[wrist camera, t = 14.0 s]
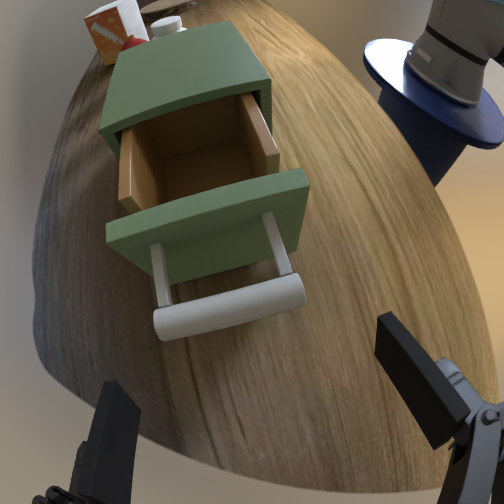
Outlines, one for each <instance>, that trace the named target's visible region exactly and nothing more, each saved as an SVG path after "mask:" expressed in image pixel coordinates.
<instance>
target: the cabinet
mask: <svg viewBox="0 0 504 504" xmlns="http://www.w3.org/2000/svg"><path fill="white" fill-rule="evenodd" d="M271 87H272V86H271V78H270V76H269V74H268V73H267V71H266V70H265V68H264V67H263V65H262V64H261V62H260V61H259V60H258V58H257V57H256V55H255V54H254V52H253V51H252V50H251V48H250V47H249V45H248V44H247V43H246V41H245V40H244V38H243V37H242V36H241V34H240V33H239V32H238V30H237V29H236V28H235V27H234V25H233V24H232V23H231V21H230V20H229V21H223V22H218V23H213V24H208V25H204V26H199V27H195V28H191V29H187V30H183V31H180V32H176V33H173V34H169V35H166V36H163V37H160V38H157V39H154V40H151V41H148V42H145V43H142V44H140V45H137V46H134V47H132V48H129V49H127V50H124V51H122V52H120V53H119V55H118V58H117V61H116V64H115V67H114V70H113V73H112V77H111V80H110V84H109V87H108V91H107V95H106V99H105V103H104V107H103V111H102V116H101V120H100V125H99V132H100V133H101V135H102V136H103V137H104V139H105V141H106V142H107V144H108V145H109V147H110V148H111V149H112V151H113V152H114V154H115V155H116V157H117V158H118V160H119V161H120V149H121V137H122V129H125V128H127V127H130V126H132V125H135V124H137V123H140V122H143V121H145V120H148V119H151V118H154V117H156V116H159V115H162V114H165V113H168V112H171V111H175V110H178V109H181V108H184V107H188V106H191V105H195V104H198V103H202V102H206V101H210V100H213V99H218V98H222V97H226V96H230V95H235V94H240V93H244V92H249V91H251V93H252V95H253V97H254V99H255V101H256V103H257V105H258V107H259V109H260V112H261V114H262V116H263V118H264V120H265V122H266V124H267V126H268V129H269V131H270V133H271V135H272V91H271ZM272 137H273V136H272Z"/></svg>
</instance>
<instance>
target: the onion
mask: <svg viewBox="0 0 504 504" xmlns="http://www.w3.org/2000/svg"><path fill="white" fill-rule="evenodd" d="M145 42H148V41H147V40H144V39H141V38H135V37H134V35H133V34H132V35H130V36H128V39H127V40H126V42H125V43H124V45H123V46H122V48H121V50H120V52H122V51H124V50H127V49H129V48H132V47H134V46H137V45H140V44H142V43H145Z"/></svg>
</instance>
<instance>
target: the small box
mask: <svg viewBox="0 0 504 504" xmlns="http://www.w3.org/2000/svg"><path fill="white" fill-rule="evenodd" d="M84 21H85V22H86V25H87V27H88V29H89V32H90V34H91V36H92V39H93V41H94V43H95V45H96V47H97V50H98V52H99V54H100V56H101V58H102V60H103V62H104V64H105V66H107V65H111V64H115V63H116V61H117V58H118V55H119V53H120V50H121V48H122V46H123V45H124V43H125V42H126V40H127V39H128V36H130V35H132V34H133V35H134V37H135V38H141V39H144V40H147V41H149V38H148V35H147V32H146V29H145V26H144V23H143V20H142V17H141V14H140V11H139V8H138V5H137V2H136V0H118V1H115V2H113V3H111V4H108V5H105V6H103V7H100V8H99V9H97V10H96V11H94V12H93V13H91V14H90V15H89V16H87V17H86V18H84Z"/></svg>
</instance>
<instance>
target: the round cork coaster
mask: <svg viewBox="0 0 504 504" xmlns="http://www.w3.org/2000/svg"><path fill="white" fill-rule="evenodd" d="M196 5H197V1H196V0H159V1H156V2H154V3H152V4H149V5H147V6H146V7H144V8H142V9H141V10H140V14H141V17H142V20H143V21H151V20H157V19H161V18H165V17H169V16H172V15H175V14H178V13H181V12H184V11H186V10H189V9H191V8H193V7H194V6H196Z"/></svg>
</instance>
